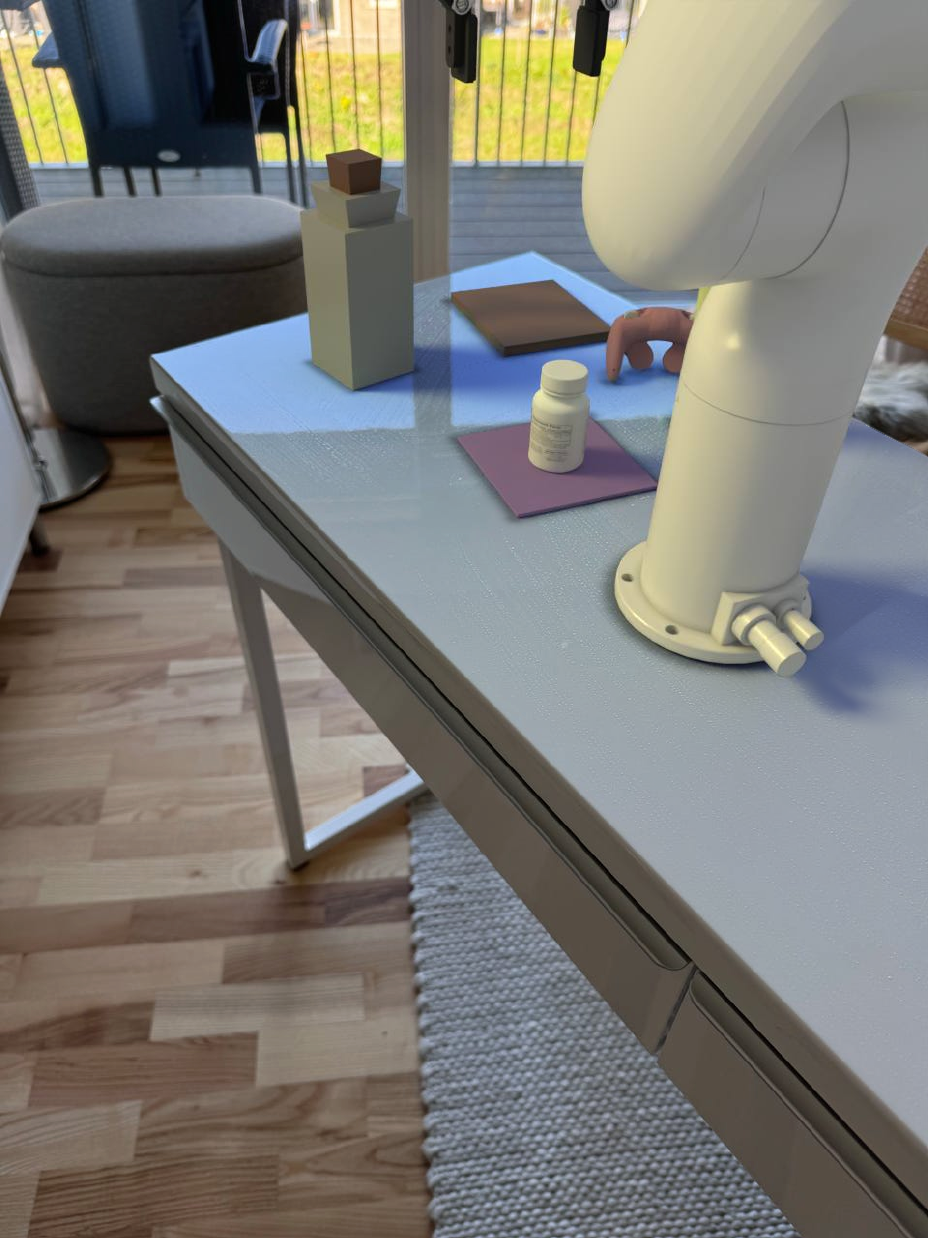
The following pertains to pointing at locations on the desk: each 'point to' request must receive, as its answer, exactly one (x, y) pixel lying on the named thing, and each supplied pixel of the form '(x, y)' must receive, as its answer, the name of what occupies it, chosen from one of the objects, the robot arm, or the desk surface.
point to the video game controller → (647, 338)
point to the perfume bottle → (359, 273)
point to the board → (530, 317)
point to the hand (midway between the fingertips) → (525, 76)
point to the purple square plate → (545, 491)
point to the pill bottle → (559, 417)
